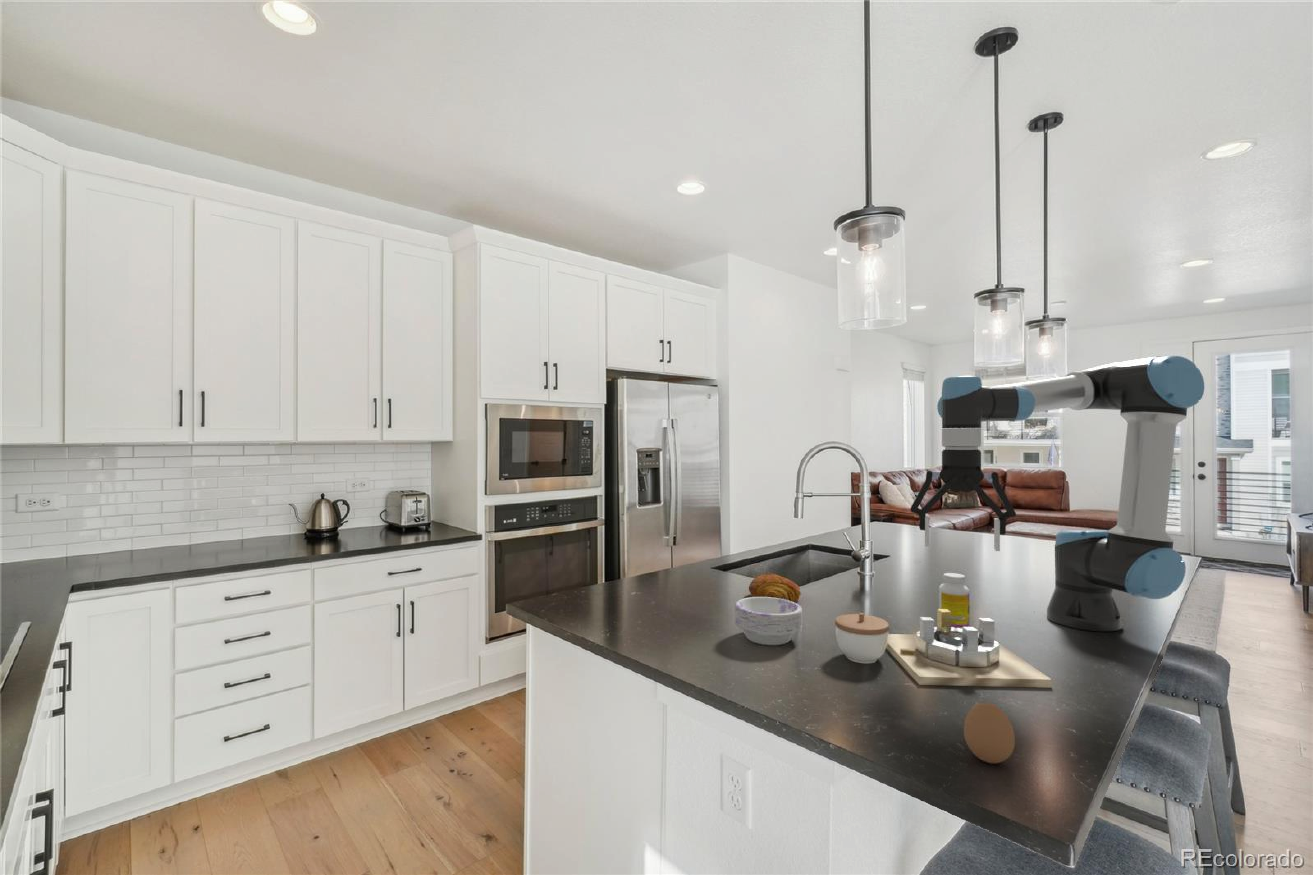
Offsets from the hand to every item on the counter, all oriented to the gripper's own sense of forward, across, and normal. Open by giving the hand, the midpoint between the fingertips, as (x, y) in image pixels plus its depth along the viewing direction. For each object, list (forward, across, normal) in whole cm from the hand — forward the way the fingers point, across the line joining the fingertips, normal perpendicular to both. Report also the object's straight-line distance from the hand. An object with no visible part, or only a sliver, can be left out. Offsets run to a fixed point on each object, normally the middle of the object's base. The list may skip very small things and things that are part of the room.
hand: (961, 547), depth 128 cm
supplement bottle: (+23, 0, -18) cm, 29 cm away
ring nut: (+21, +1, +6) cm, 22 cm away
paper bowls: (+23, +40, +8) cm, 47 cm away
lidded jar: (+23, +19, +12) cm, 32 cm away
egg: (+23, -1, +46) cm, 51 cm away
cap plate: (+23, +1, +6) cm, 23 cm away
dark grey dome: (+21, +1, +6) cm, 22 cm away
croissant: (+23, +46, -25) cm, 57 cm away
